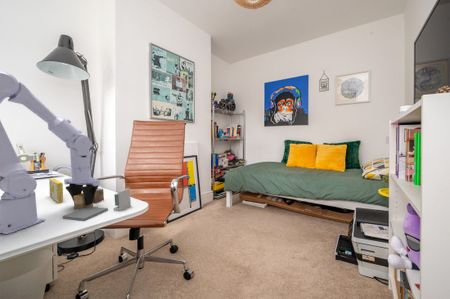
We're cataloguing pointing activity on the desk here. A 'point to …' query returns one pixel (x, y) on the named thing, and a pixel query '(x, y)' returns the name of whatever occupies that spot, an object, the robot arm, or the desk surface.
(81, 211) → the parts mat
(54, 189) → the candy box
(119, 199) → the wall unit
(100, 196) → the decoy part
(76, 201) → the tan small block
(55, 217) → the desk surface
